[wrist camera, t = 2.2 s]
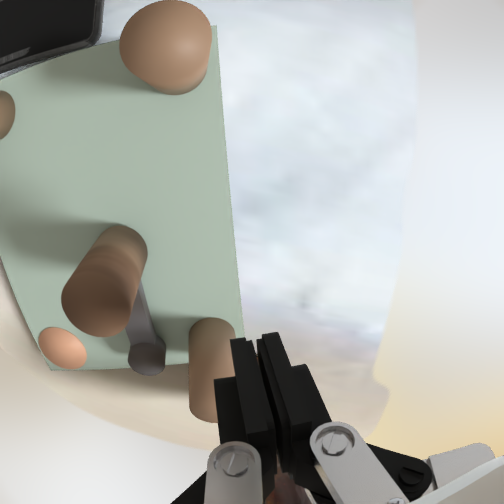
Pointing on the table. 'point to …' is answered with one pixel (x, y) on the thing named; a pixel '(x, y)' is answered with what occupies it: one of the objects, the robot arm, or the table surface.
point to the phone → (46, 29)
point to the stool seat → (125, 191)
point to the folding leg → (115, 297)
